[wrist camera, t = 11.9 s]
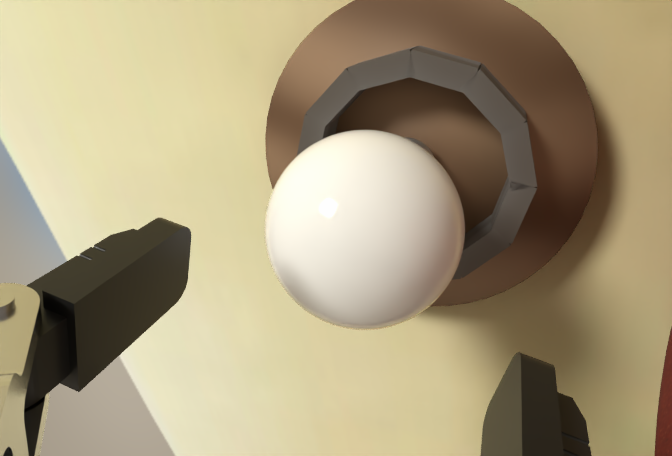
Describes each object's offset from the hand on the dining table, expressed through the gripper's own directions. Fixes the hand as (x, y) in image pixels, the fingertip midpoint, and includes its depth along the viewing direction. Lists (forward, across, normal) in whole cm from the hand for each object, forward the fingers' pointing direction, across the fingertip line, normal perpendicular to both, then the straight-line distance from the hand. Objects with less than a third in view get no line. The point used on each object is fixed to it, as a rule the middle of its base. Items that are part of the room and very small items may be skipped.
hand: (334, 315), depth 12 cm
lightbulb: (+13, 0, 0) cm, 13 cm away
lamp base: (+15, 0, 0) cm, 15 cm away
